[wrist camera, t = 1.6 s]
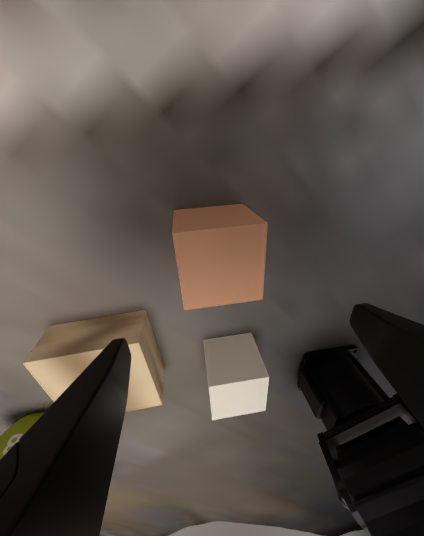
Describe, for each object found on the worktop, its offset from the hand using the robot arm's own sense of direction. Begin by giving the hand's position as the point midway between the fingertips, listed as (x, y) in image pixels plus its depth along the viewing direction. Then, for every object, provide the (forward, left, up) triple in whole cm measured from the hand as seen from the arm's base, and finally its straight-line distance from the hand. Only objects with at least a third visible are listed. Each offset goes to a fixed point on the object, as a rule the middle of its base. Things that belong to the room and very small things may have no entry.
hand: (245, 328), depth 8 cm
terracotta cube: (0, 0, -10) cm, 10 cm away
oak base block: (+10, +10, -10) cm, 17 cm away
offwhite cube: (-1, +13, -10) cm, 16 cm away
